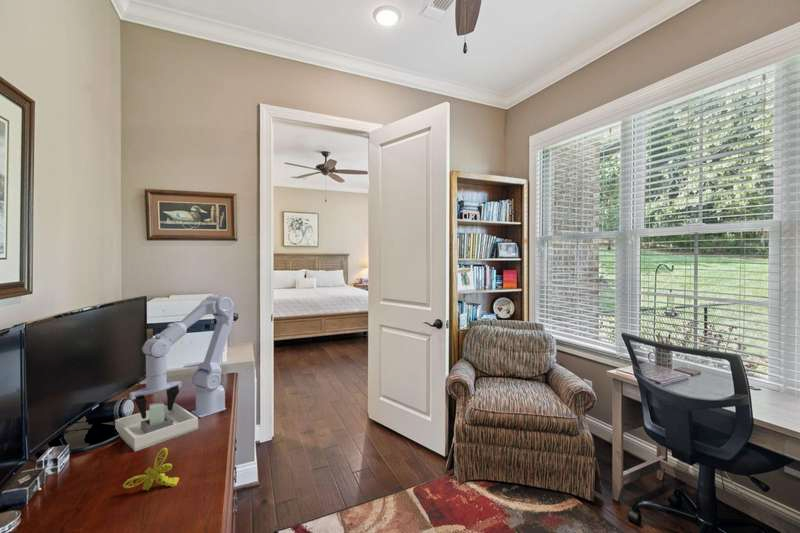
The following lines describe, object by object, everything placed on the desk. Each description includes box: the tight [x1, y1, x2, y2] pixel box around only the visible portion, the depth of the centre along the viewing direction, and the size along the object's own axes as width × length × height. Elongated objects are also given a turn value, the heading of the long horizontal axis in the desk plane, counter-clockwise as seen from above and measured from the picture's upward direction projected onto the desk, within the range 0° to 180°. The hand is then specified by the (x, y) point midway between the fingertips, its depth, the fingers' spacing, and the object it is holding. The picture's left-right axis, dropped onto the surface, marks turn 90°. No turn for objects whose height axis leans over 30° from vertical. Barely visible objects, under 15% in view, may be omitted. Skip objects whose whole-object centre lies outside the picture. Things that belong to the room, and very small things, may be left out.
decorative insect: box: [122, 447, 180, 491], centre depth 91 cm, size 12×3×10 cm
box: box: [114, 402, 199, 452], centre depth 120 cm, size 18×20×4 cm
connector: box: [148, 401, 165, 426], centre depth 120 cm, size 4×4×8 cm
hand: (157, 413), depth 120 cm, fingers open, 7 cm apart
